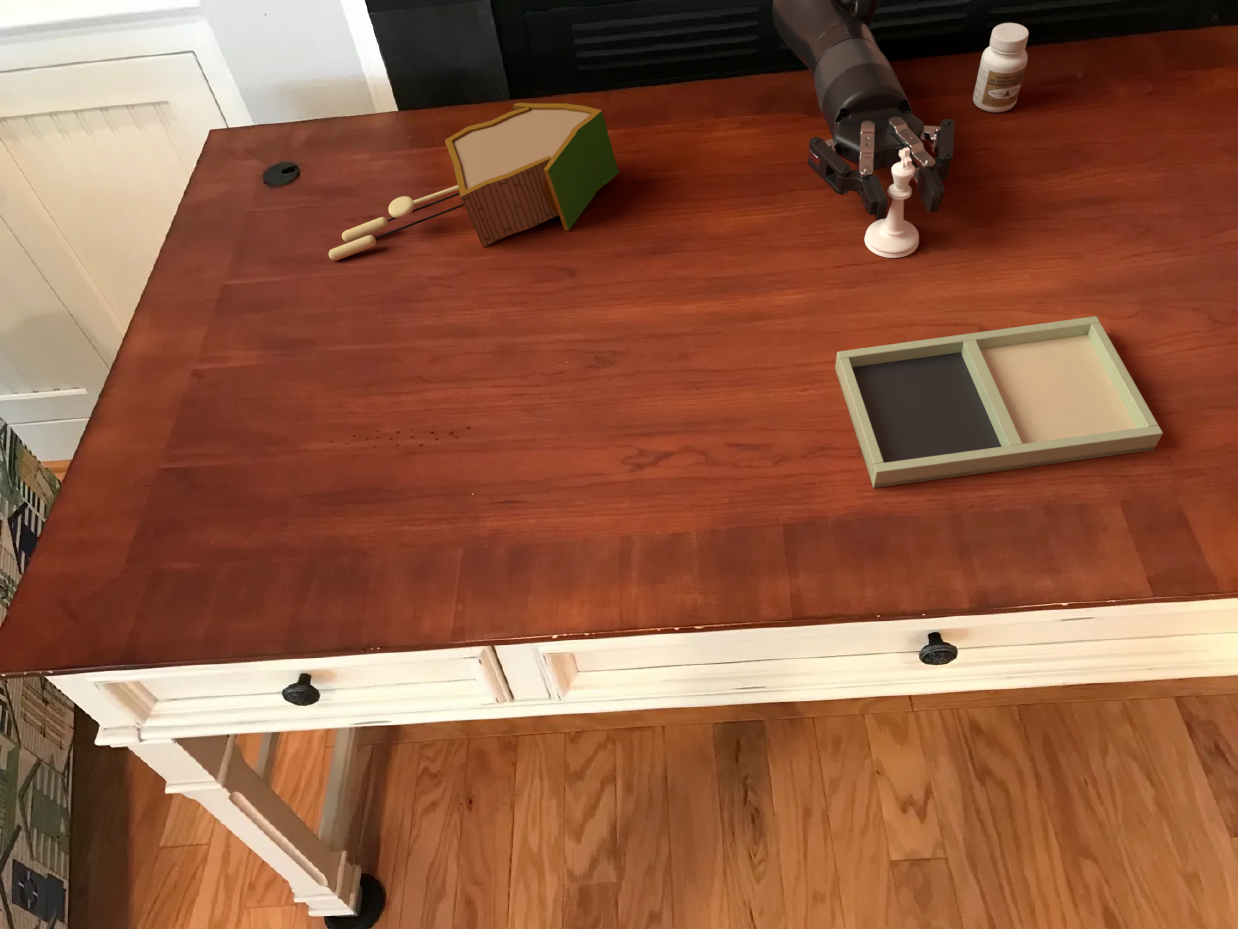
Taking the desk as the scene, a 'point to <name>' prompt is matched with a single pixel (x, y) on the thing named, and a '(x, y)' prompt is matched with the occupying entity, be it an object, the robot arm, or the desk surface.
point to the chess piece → (895, 216)
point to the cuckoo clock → (515, 173)
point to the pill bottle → (1002, 68)
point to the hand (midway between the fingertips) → (908, 207)
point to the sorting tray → (993, 402)
